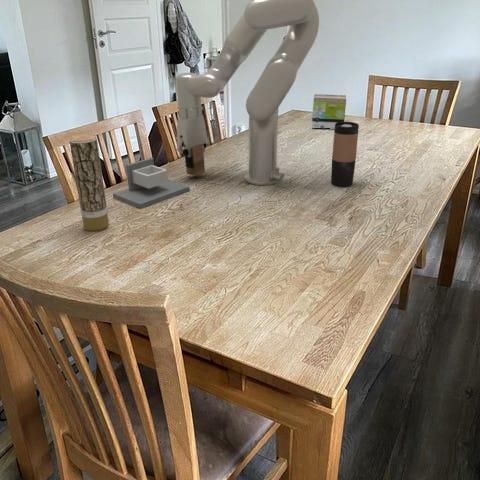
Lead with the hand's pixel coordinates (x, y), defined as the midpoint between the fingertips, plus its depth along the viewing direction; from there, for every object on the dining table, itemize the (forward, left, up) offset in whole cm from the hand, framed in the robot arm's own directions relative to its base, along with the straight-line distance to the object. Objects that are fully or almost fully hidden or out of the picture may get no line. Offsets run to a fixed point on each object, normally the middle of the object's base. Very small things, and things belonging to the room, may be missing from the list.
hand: (195, 165), depth 171 cm
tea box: (+5, -91, -5) cm, 92 cm away
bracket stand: (-1, +21, -5) cm, 21 cm away
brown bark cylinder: (-9, +47, -5) cm, 48 cm away
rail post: (0, 0, -3) cm, 3 cm away
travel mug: (-42, -27, -5) cm, 51 cm away
